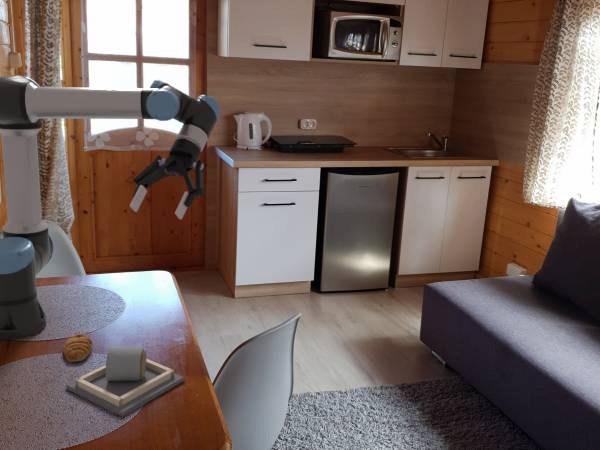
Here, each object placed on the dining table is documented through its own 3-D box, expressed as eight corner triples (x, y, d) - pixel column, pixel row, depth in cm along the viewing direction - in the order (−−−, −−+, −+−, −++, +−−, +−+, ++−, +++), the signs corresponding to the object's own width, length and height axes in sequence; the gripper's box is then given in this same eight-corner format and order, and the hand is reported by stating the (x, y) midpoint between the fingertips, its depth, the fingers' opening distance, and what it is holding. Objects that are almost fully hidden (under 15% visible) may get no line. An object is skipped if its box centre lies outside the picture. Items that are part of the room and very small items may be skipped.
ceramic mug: (143, 386, 133) (143, 354, 131) (105, 387, 131) (104, 355, 130) (148, 364, 143) (148, 334, 141) (113, 364, 142) (112, 334, 140)
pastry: (91, 362, 144) (90, 348, 143) (61, 365, 142) (60, 351, 141) (93, 345, 153) (92, 331, 152) (64, 347, 151) (63, 333, 150)
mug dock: (66, 388, 132) (65, 378, 132) (129, 357, 147) (129, 348, 146) (122, 416, 123) (121, 406, 122) (183, 380, 138) (183, 371, 137)
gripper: (234, 159, 158) (203, 227, 149) (155, 150, 167) (122, 213, 158) (224, 141, 152) (191, 211, 143) (143, 132, 161) (107, 197, 152)
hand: (155, 212), depth 150 cm, fingers open, 13 cm apart
